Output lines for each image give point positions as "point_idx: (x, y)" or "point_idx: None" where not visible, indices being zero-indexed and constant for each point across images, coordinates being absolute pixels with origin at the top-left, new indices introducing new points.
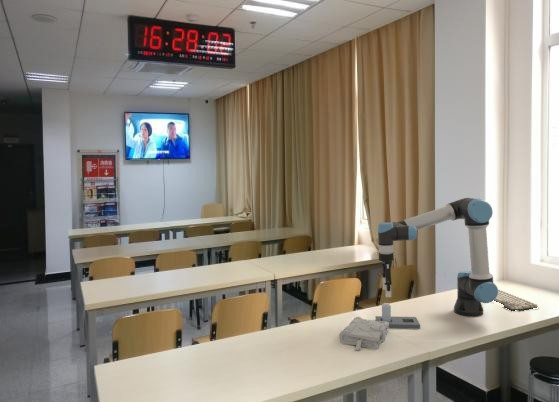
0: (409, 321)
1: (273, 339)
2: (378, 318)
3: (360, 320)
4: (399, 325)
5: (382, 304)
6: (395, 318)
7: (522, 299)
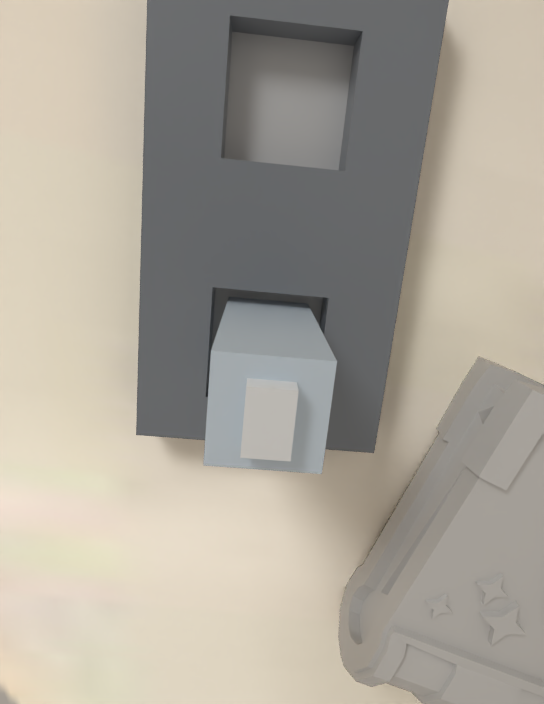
0: (228, 66)
1: None
2: None
3: (440, 645)
4: (405, 235)
5: (235, 462)
6: (210, 234)
7: None
